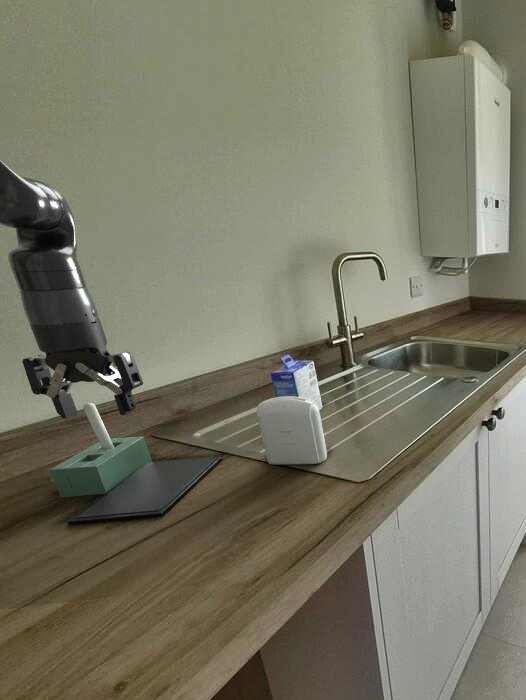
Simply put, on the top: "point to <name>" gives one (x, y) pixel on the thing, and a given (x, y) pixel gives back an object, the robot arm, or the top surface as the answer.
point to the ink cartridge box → (296, 380)
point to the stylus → (98, 426)
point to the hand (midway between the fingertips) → (99, 415)
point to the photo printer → (291, 430)
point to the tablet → (147, 491)
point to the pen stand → (100, 467)
